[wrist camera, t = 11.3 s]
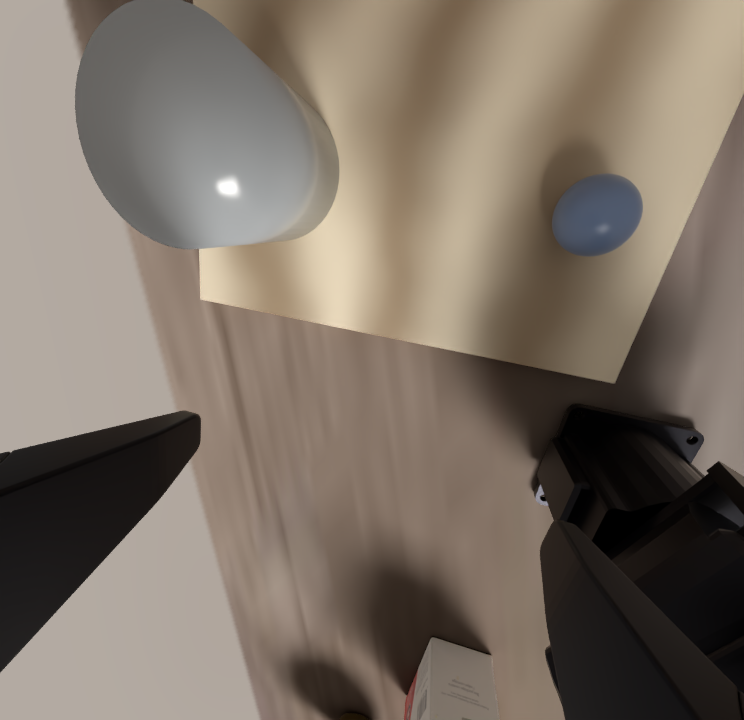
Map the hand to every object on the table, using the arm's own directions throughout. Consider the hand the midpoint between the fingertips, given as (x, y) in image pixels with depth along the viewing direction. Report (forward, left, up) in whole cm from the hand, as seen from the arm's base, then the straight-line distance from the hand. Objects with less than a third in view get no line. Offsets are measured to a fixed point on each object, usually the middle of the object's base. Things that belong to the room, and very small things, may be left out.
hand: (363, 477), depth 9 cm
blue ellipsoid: (-6, -7, -9) cm, 13 cm away
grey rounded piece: (+8, -7, -11) cm, 15 cm away
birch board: (+1, -11, -12) cm, 16 cm away
